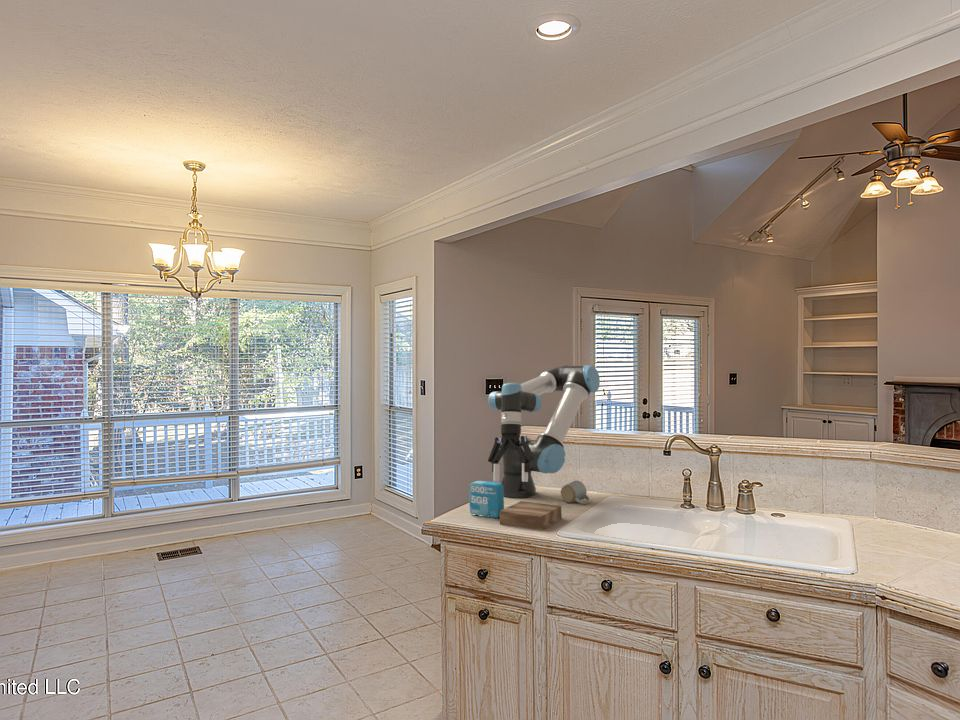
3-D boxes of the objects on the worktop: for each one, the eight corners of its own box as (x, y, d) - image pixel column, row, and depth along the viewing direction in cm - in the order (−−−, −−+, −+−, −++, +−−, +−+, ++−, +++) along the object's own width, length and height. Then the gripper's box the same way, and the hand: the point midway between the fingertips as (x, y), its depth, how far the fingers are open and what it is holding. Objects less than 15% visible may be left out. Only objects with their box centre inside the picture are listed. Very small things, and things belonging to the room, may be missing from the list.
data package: (469, 515, 222) (468, 482, 222) (475, 512, 226) (474, 480, 226) (498, 518, 217) (497, 485, 216) (504, 515, 220) (503, 482, 220)
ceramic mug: (559, 502, 238) (559, 482, 238) (570, 498, 245) (570, 479, 244) (582, 506, 231) (582, 486, 231) (593, 502, 237) (593, 482, 237)
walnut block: (521, 514, 223) (521, 501, 223) (561, 519, 215) (561, 505, 214) (499, 525, 209) (499, 511, 209) (541, 531, 201) (541, 516, 201)
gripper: (479, 424, 235) (478, 480, 230) (531, 421, 218) (531, 481, 214) (492, 426, 240) (491, 481, 236) (543, 423, 224) (543, 481, 219)
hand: (510, 481), depth 225 cm, fingers open, 13 cm apart
